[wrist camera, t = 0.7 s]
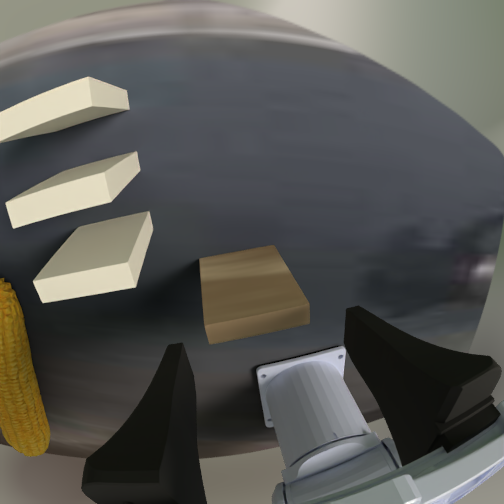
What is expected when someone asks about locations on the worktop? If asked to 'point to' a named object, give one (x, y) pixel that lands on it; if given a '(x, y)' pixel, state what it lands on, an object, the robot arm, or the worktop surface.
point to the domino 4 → (249, 295)
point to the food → (19, 382)
